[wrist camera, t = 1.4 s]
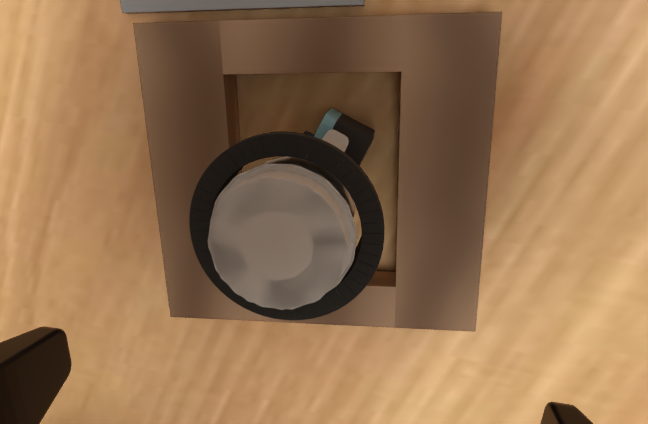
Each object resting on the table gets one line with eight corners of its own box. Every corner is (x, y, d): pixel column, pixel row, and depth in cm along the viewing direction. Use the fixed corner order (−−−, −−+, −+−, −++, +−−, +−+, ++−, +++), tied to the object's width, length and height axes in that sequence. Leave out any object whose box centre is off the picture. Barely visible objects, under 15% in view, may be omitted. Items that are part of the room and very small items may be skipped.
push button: (336, 263, 23) (300, 407, 14) (236, 210, 23) (129, 318, 13) (408, 139, 21) (425, 207, 11) (298, 79, 21) (222, 99, 11)
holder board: (183, 300, 25) (170, 316, 23) (151, 25, 21) (133, 23, 19) (469, 313, 23) (475, 331, 21) (492, 15, 19) (501, 11, 18)
